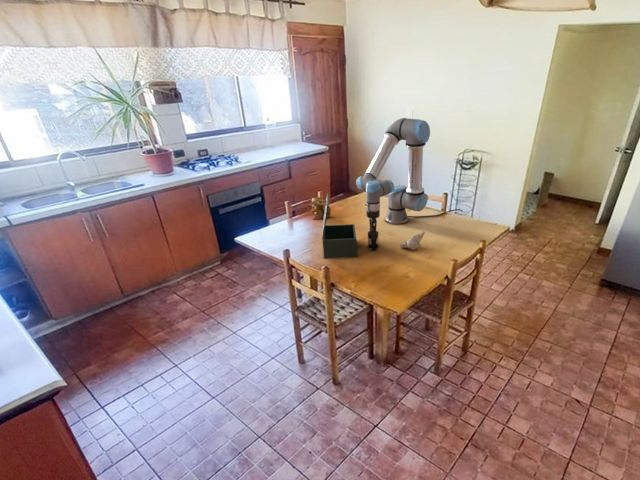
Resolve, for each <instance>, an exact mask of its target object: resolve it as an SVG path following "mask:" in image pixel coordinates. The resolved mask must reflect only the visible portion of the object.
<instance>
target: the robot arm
mask: <svg viewBox="0 0 640 480" xmlns="http://www.w3.org/2000/svg"><path fill="white" fill-rule="evenodd" d="M430 137H431V127H430V125H429V122H427V121H426V120H422V119H419V118H418V119H417V118H408V117H402V118H399V119H397V120H395V121H394V122H393V123H391V125H390V126H388V128H387V129H386V130H385V133H384V134H383V140H382V142H381V144H380V145H379V147H378V148H377V151H376V153H375V155H374V157H373V158H372V160H371V162H370V163H369V165H368V168H367V169H366V171H365V173H364V174H363V175H361V176H359V177H357V178H356V180H355V184H356V188H357V189H359V190H361V191H363V192H365V194H366V195H365V196H366V199H365V202H366V203H365V205H364V206H365V208H366V210H365V212H366V214H365V215H366V217H367V218H368V220H369V222H368V223H369V230H368V231H371V233H372V239H370V240H371V249H370V251H377V248H376V240H377V239H376V231H377V224H378V221H377V219H378V218H379V217H380V216H381V211H380V210H381V198H382V197H384V196H387V195H388V197H387V198H388V202H387V203H388V205H387V206H388V207H387V212H386V215H385V219H384V220H385V222H386V223H388V224H390V225H404V224H406V223H407V222H408V220H409V218H415V219H416V218H418V219H419V218H430V217H438V216H442V215H444V214H447V213H450V212H456V211H460V212H464V211H463V210H462V209H461V208H455V209H451V210H447V211H444V212H441V213H438V214H435V215H433V214H432V215H419V216H418V215H417V216H414V215H413V216H412V215H408V213H407V210H410V211H413V212H421V211H423V210H424V209H425V208H426V206H427V203H428V200H429V196H428V194H427V193H425V187H423V163H424V162H423V159H424V157H423V155H424V147H425V146H426V143H428V141H429V140H430ZM401 141H405V146H406V147H407V148H408V149H407V174H408V175H407V186H406V185H403V184H400V185H399V184H398V185H394V182H393V180H391V179H385V180H380V179H378V178H379V176H380V174H381V173H382V170H383V169H384V166H385V165H386V164H387V162H388V159H389V158H390V156H391V154H392V152H393V150H394V149H395V146H397V145H398V144H399V143H400V142H401ZM446 212H447V213H446Z"/></svg>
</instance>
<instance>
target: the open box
mask: <svg viewBox="0 0 640 480" xmlns="http://www.w3.org/2000/svg"><path fill="white" fill-rule="evenodd" d="M357 246H358V245H357V234H356V227H355V223H351V224H326V227H325V233H324V240H323V239H322V247H323V259H336V258H337V259H338V258H339V259H340V258H356V257H358V249H357V248H358V247H357Z"/></svg>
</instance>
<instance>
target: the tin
mask: <svg viewBox="0 0 640 480" xmlns="http://www.w3.org/2000/svg"><path fill="white" fill-rule="evenodd" d="M370 239H372V233H371V231H370V230H368V232H367V248H368V249H370V250H371V240H370ZM376 239H377V240H376V249H379V231H378V230H376Z"/></svg>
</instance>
